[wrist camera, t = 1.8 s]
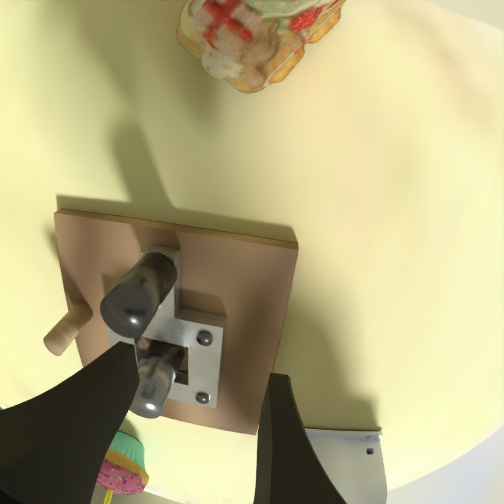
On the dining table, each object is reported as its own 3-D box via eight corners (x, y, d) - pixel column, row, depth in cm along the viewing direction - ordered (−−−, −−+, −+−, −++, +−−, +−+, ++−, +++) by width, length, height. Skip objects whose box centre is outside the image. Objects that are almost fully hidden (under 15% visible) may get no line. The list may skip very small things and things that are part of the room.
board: (298, 243, 18) (298, 250, 17) (256, 426, 26) (255, 435, 25) (62, 208, 19) (53, 212, 18) (95, 386, 26) (91, 393, 26)
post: (185, 338, 21) (159, 397, 16) (185, 365, 22) (162, 422, 17) (149, 330, 21) (117, 385, 16) (152, 357, 22) (124, 411, 17)
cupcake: (169, 463, 31) (143, 543, 20) (114, 454, 33) (84, 523, 22) (138, 424, 28) (99, 516, 17) (81, 415, 30) (39, 490, 19)
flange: (218, 397, 23) (203, 457, 17) (124, 373, 23) (95, 424, 18) (233, 254, 18) (210, 313, 12) (105, 234, 18) (50, 276, 13)
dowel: (91, 303, 21) (58, 340, 17) (94, 321, 21) (64, 358, 17) (74, 299, 21) (41, 333, 17) (77, 316, 21) (47, 351, 17)
